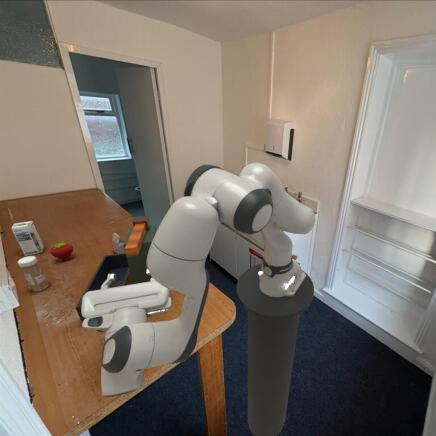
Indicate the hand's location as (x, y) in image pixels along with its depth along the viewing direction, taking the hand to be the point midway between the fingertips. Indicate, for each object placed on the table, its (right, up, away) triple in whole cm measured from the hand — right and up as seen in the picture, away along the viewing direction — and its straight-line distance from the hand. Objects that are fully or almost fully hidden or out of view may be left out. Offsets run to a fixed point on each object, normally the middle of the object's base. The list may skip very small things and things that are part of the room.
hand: (131, 271), depth 68 cm
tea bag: (-36, -1, +45) cm, 58 cm away
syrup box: (-73, 0, +41) cm, 84 cm away
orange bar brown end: (-5, +8, +11) cm, 14 cm away
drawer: (-22, -13, +23) cm, 35 cm away
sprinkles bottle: (-50, -12, +22) cm, 56 cm away
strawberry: (-56, -3, +37) cm, 67 cm away
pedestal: (-8, -13, +25) cm, 30 cm away
